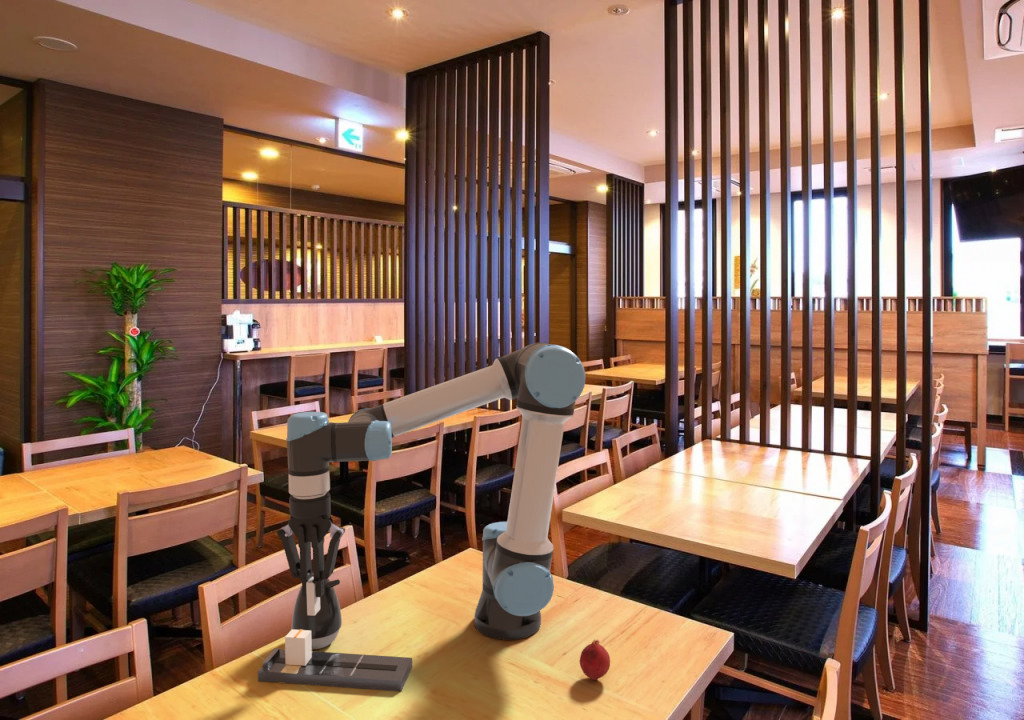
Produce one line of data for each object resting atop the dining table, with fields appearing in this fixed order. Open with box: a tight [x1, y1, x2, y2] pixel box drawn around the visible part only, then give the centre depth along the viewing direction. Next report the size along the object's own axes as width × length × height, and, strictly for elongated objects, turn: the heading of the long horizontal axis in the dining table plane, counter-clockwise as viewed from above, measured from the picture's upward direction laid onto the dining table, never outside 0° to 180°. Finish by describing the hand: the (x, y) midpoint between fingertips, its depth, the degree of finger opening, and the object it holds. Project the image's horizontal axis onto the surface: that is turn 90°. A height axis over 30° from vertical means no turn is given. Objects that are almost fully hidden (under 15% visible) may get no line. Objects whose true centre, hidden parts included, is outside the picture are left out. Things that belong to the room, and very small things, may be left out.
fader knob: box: [284, 628, 313, 666], centre depth 125 cm, size 4×3×6 cm
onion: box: [579, 638, 611, 681], centre depth 123 cm, size 6×6×8 cm
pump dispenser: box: [291, 574, 343, 650], centre depth 135 cm, size 10×10×15 cm
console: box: [257, 647, 413, 692], centre depth 124 cm, size 28×8×3 cm, turn 84°
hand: (313, 612), depth 124 cm, fingers closed
